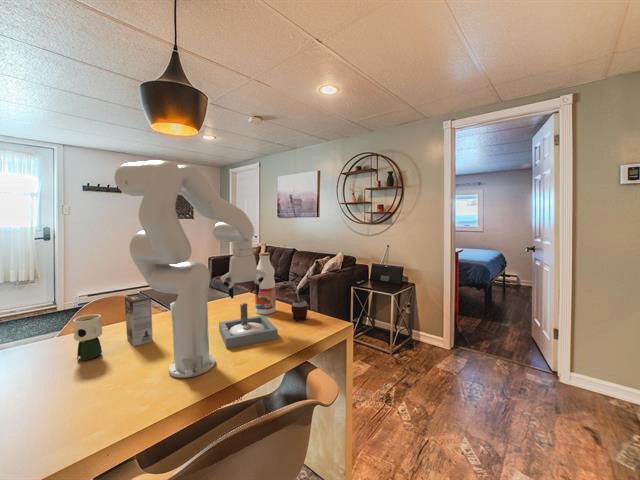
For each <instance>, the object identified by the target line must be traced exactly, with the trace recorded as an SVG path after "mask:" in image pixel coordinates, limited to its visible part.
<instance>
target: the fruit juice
mask: <svg viewBox="0 0 640 480" xmlns="http://www.w3.org/2000/svg"><path fill="white" fill-rule="evenodd" d="M258 255H259V260H258V263H257V265H256V267H257V270H260V271H262V272H265V273H266V275H265V277H264V279H263V281H262V282H261V283H260V285H259V290H260V292H258V295H256V294H255V293H254V300H255V301H254V302H255V305H254V306H255V313H256V314H259V315H271V314H274V313H275V312H276V310H277V309H276V308H277V306H276V305H277V304H276V303H277V302H276V281H275V273H276V272H275V268H274V267H273V265H272V262H271V260H270V257H271V256H270V255H271V254H270V252H268V251H267V252H265V251H264V252H259V253H258ZM260 277H261V274H259V273H257V280H258V279H259V278H260Z"/></svg>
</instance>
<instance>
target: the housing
mask: <svg viewBox="0 0 640 480" xmlns="http://www.w3.org/2000/svg"><path fill="white" fill-rule="evenodd" d="M248 323H260V324H262V325H263V326H264V330H261V331H255V332H249V333H244V334H238V335H233V336H231V334H230V329H231V328H232V327H233V326H235V325H238V324H241V318H238V319H231V320H223V321H219V322H218V332H219V333H220V336H221V338H222V341H223V343H224V346H225V349H226V350H228V349H234V348H239V347H243V346H244V347H245V346H248V345H255V344H259V343H264V342H269V341H274V340H278V339H279V338H278V337H279V336H278V329H277V328H276V327H275V325H274V324H273V323H272V322H271V321H270V320H269V319H268V317H266V316H265V314H261V315H256V316H250V317H248Z"/></svg>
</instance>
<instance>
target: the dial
mask: <svg viewBox="0 0 640 480" xmlns="http://www.w3.org/2000/svg"><path fill="white" fill-rule="evenodd" d="M239 305H240V307H239V308H240V319H241V324H238V325H235V326H233V327H232V328H231V329H230V334H231V336H233V335H238V334H244V333H249V332H255V331H261V330H264V326H263V325H262V324H260V323H248V318H249V317H248V303H245V302H244V303H240V304H239Z"/></svg>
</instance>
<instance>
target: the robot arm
mask: <svg viewBox="0 0 640 480" xmlns="http://www.w3.org/2000/svg"><path fill="white" fill-rule="evenodd" d="M113 179H114V184H115V185H116V187H117V188H118V189H119V191H121V192H122V193H123V194H126V195H127V196H131V197H142V199H141V203H140V206H139V208H138V220H139V224H140V225H141V226H140V227H141V229H143V230H140V231H138V232H136V233H135V234H134V235H133V236H132V238H131V240H130V242H129V254H130V256H131V259H132V261H133V264H135V266H136V268H137V269H138V271H139V272H140V274H141V275H142V277H143V279H144V280H145V282H146V283H147V285H148V286H149V287H150V288H151V289H152V290H154V291H156V292H157V293H164V294H165V293H166V294H176V295H178V296H177V298H176V300H175V301H174V302H175V303H174V305H173V309H172V318H171V323H173V326H172V339H173V343H172V344H173V361H172V362H171V364H169V366H168V374H169V376H171V377H174V378H178V379H179V378H180V379H181V378H182V379H184V378H191V377H197V376H200V375H203V374H205V373H207V372H208V371H210V370H211V369H212V368H214V366H215V363H216V358H215V357H214V356H213V355H211V354H210V344H209V342H210V341H209V340H210V339H209V317H208V316H209V314H208V298H209V296H208V294H209V288H210V282H211V272H210V269H209V268H208V266H206V265H205V264H204V263H201V262H199V261H193V260H189V259H190V258H191V256H192V253H193V251H192V246H191V245H192V244H191V243H190V240H189V238H188V236H187V234H186V231H185V230H184V227H183V226H182V223H181V222H180V220H179V216H178V214H177V211H176V210H177V209H176V205H177V204H176V203H177V199H178V195H180V196H182V197H183V198H184V199H185V200H186V201H187V202H188V204H190V206H192V209H194V210H195V212H197V213H198V215H199V216H201V217H204V218H207V219H209V220H213V221H216V222H217V223H215V224H214V226H213V228H212V235H213V237H214V238H215V239H216V240H217V241H219V242H224V243H232V244H231V245H232V246H231V247H232V256H230V257H229V271H228V272H227V273H225V274H224V275H222V276H220V280H221V283H222V284H223V285H224V286H225V287H226V288H228V289H227V291H228V297H229V298H231V299H234V287H233V286H234V285H235V284H240V283H247V282H254V295H255V294H256V295H258V292H260V290H259V285H260V283H261V282H262V281H263V279H264V277H265V275H266V273H265V272H262V271H260V270H257V261H256V257H255V255H254V254H255V253H257V249H256V248H253V238H254V236H255V228H254V225H253V223H252V222H251V220H250V218H249V216H248V215H247V214H246V212H244V211H243V210H242V209H241V208H240V207H238V206H236V205H234V204H232V203H231V202H229V201H227V200H225V199H224V198H222V197H221V196H220V195H219V194H218V192H217V191H216V190H215V188H214V186H213V185H212V184H211V183H210V181H209V180H208V179H207V177H206V176H205V175H204V173H203V172H202V171H201V169H200V168H198V166H195V165H192V164H177V163H175V162H173V161H170V160H163V159H162V160H146V161H136V162H127V163H123V164H121V165H119V166H118V167H117V169H116V170H115V172H114V177H113ZM257 273H259V274H261V277H260V278H259V279H258V280H257ZM227 278H229V280H230V281H229V282H228V281H227V280H226V279H227Z"/></svg>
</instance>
